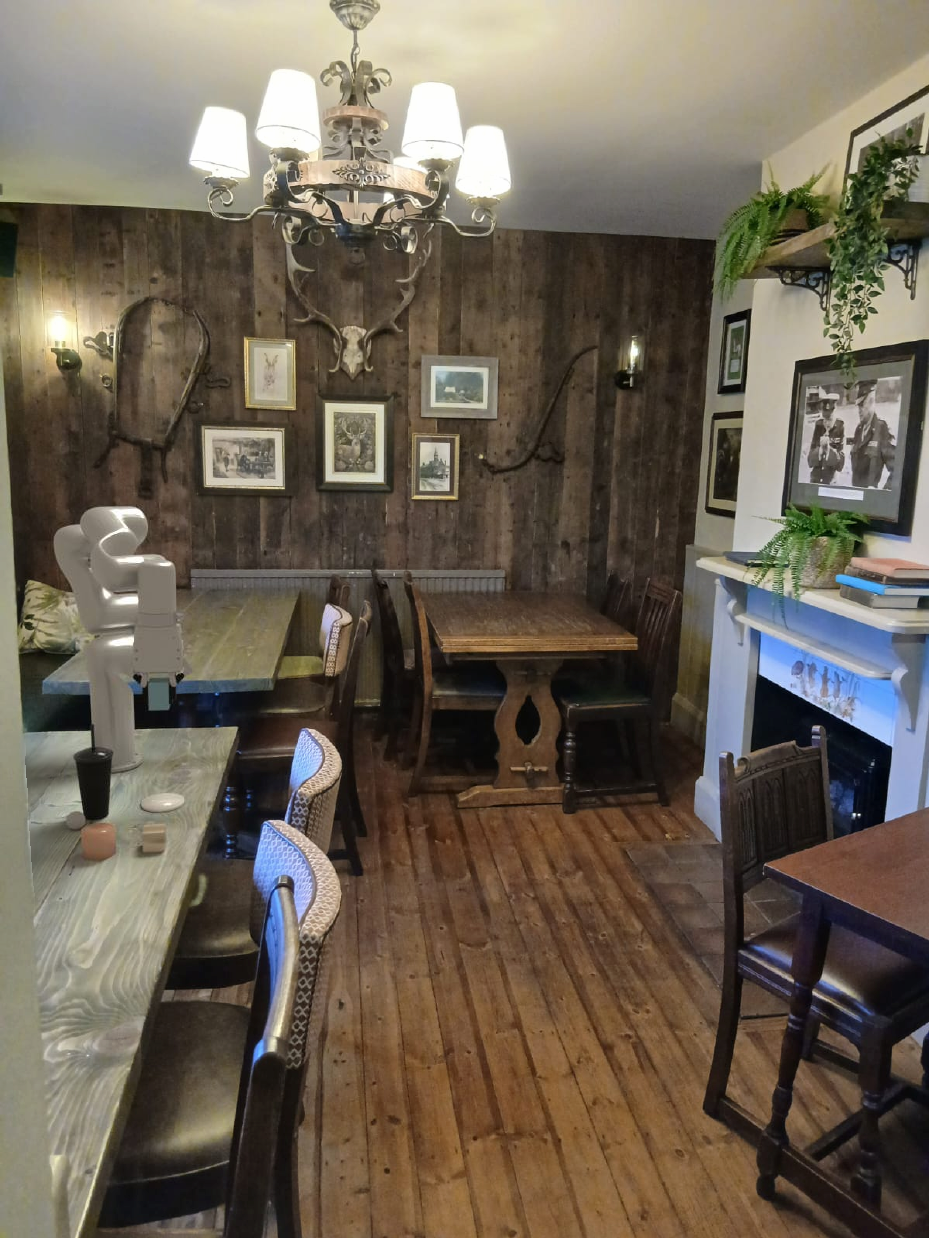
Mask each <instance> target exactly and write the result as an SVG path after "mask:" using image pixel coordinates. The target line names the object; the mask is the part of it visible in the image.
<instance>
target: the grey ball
mask: <svg viewBox="0 0 929 1238" xmlns="http://www.w3.org/2000/svg"><path fill="white" fill-rule="evenodd" d="M65 823H66V824H65V825H66V826H67V828H70V829H71V830H79V829H82V827H83V826H84V825H85V823H86V819H85V816H84V814H83V812H81V811H78V810H75V811H71V812H70V813H68V815H67V816H66V819H65Z"/></svg>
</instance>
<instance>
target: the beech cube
mask: <svg viewBox="0 0 929 1238" xmlns="http://www.w3.org/2000/svg"><path fill="white" fill-rule="evenodd" d="M141 834H142V853H155V852H156V853H157V852H165V851H166V847H167V823H155V824H154V823H152V824H144V826H143V830H142V833H141Z"/></svg>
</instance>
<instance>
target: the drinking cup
mask: <svg viewBox="0 0 929 1238" xmlns="http://www.w3.org/2000/svg"><path fill="white" fill-rule="evenodd" d="M90 741H91V742H90V745H91V747H86V748H83V749H82V750H79V751H77V752H75V753H74V754H73V756H72V757H73V760H74V761H75V768H76V773H77V781H78V787H79V796H80V801H81V808H82V813H83V814H84V816H85V820H88V821H99V820H103V819H104V818H108V816H109V814H110V813H109V812H110V797H111V796H110V794H111V793H110V792H111V779H112V773H111V766H112V757H113V755H114V753H113V751H112V750H110V749H107V748H103V747H95V734H94V724H92V723H91V724H90Z"/></svg>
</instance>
